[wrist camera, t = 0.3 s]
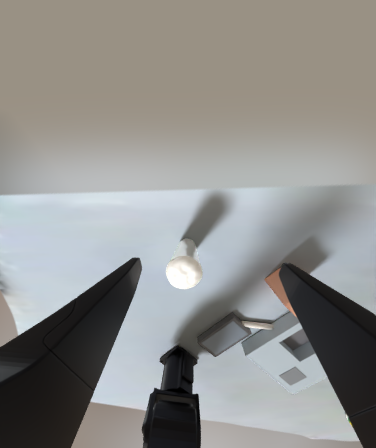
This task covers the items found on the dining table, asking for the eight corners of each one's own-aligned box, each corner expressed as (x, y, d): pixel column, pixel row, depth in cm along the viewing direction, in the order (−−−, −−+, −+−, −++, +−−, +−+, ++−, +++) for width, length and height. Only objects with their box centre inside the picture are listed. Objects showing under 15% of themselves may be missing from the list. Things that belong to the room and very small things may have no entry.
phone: (214, 350, 31) (215, 357, 30) (197, 337, 30) (197, 343, 29) (249, 327, 29) (251, 333, 28) (232, 312, 28) (233, 318, 27)
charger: (279, 295, 27) (303, 324, 21) (263, 278, 26) (283, 304, 20) (302, 279, 26) (333, 306, 20) (285, 262, 25) (313, 284, 19)
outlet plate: (285, 380, 32) (292, 395, 30) (241, 343, 30) (245, 356, 28) (348, 346, 29) (362, 361, 27) (304, 302, 27) (315, 313, 24)
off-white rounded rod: (239, 323, 29) (241, 327, 28) (240, 319, 28) (242, 323, 27) (272, 326, 29) (275, 331, 28) (273, 323, 28) (276, 327, 27)
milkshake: (192, 227, 24) (192, 253, 14) (202, 253, 25) (208, 293, 15) (169, 235, 24) (153, 266, 15) (180, 260, 26) (172, 304, 16)
